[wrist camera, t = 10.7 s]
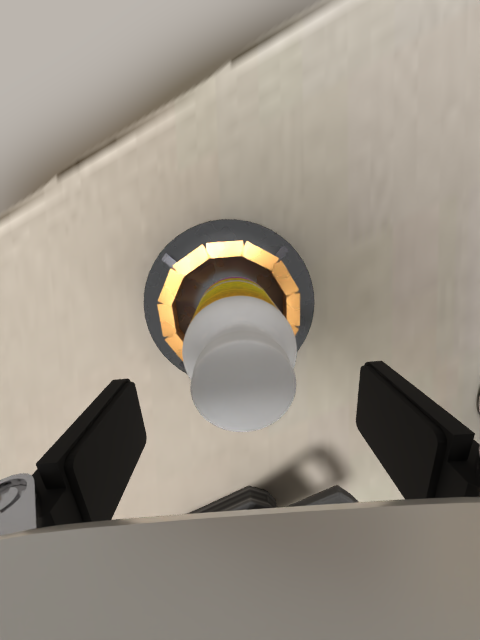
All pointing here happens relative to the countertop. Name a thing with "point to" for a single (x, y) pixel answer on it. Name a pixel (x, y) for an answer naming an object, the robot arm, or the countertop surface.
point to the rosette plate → (217, 263)
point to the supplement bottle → (240, 357)
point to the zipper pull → (273, 500)
